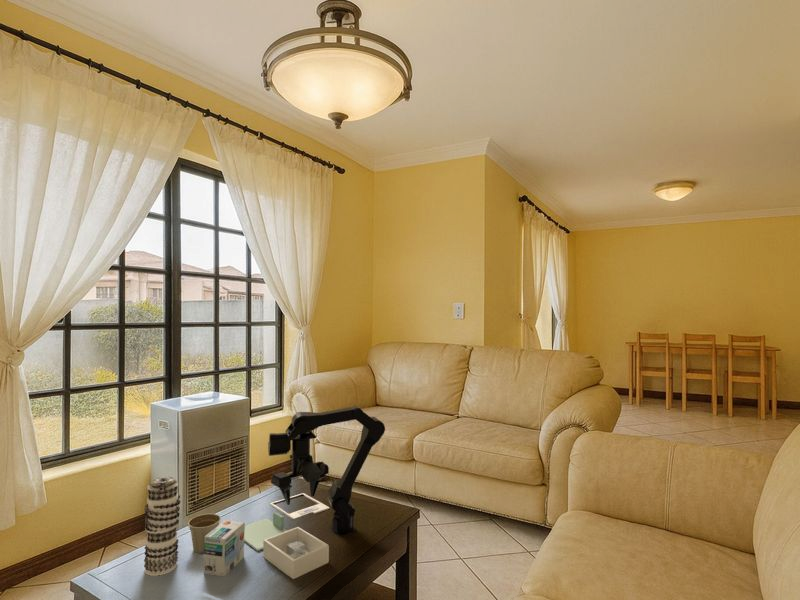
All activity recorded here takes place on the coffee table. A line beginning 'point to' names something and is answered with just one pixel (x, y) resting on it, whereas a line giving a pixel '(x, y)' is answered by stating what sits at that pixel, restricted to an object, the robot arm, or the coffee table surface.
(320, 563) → the tub
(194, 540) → the flower pot
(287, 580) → the coffee table surface
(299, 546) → the steel block
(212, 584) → the coffee table surface
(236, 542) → the light bulb box
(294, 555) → the steel block
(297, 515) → the photo frame
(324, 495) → the coffee table surface
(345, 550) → the coffee table surface
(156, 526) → the white patterned cylinder
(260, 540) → the lid
